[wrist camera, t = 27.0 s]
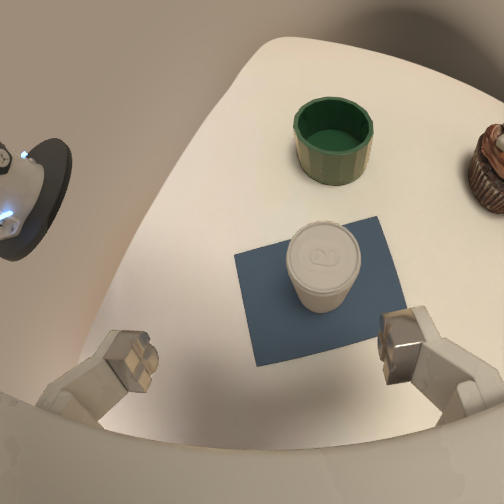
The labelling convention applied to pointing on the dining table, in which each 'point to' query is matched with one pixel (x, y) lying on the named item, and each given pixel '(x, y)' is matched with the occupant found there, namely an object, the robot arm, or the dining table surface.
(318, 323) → the mat
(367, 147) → the green round pot
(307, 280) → the beverage can
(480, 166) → the cupcake
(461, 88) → the dining table surface
